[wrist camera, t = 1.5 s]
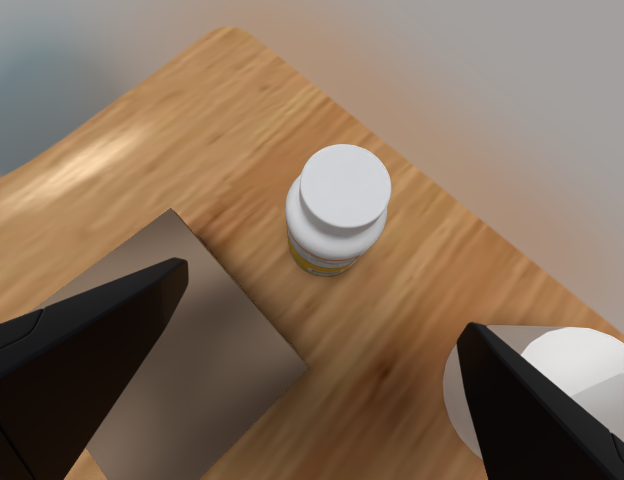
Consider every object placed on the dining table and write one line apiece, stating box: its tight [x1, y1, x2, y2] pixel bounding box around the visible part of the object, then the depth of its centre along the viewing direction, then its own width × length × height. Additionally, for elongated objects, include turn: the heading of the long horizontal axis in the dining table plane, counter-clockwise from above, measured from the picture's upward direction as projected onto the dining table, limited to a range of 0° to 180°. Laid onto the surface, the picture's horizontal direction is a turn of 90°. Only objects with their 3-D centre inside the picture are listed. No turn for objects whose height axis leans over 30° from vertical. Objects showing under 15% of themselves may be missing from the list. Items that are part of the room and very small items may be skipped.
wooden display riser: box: [29, 208, 308, 480], centre depth 17 cm, size 12×10×4 cm
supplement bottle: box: [285, 144, 391, 276], centre depth 17 cm, size 5×5×10 cm
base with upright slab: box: [443, 325, 624, 460], centre depth 14 cm, size 9×9×12 cm
